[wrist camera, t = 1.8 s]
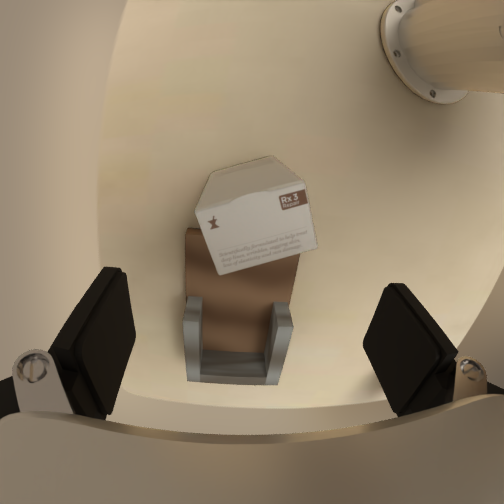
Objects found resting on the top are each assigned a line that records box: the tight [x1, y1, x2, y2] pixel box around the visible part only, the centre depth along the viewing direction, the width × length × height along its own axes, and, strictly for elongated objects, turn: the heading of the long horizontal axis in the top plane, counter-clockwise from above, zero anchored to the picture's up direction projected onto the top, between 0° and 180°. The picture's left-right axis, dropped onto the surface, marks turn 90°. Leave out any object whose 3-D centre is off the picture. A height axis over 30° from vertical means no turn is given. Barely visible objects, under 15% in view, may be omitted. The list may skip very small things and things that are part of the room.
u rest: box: [183, 228, 300, 385], centre depth 29 cm, size 18×11×6 cm, turn 174°
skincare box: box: [194, 156, 318, 275], centre depth 20 cm, size 6×4×12 cm
